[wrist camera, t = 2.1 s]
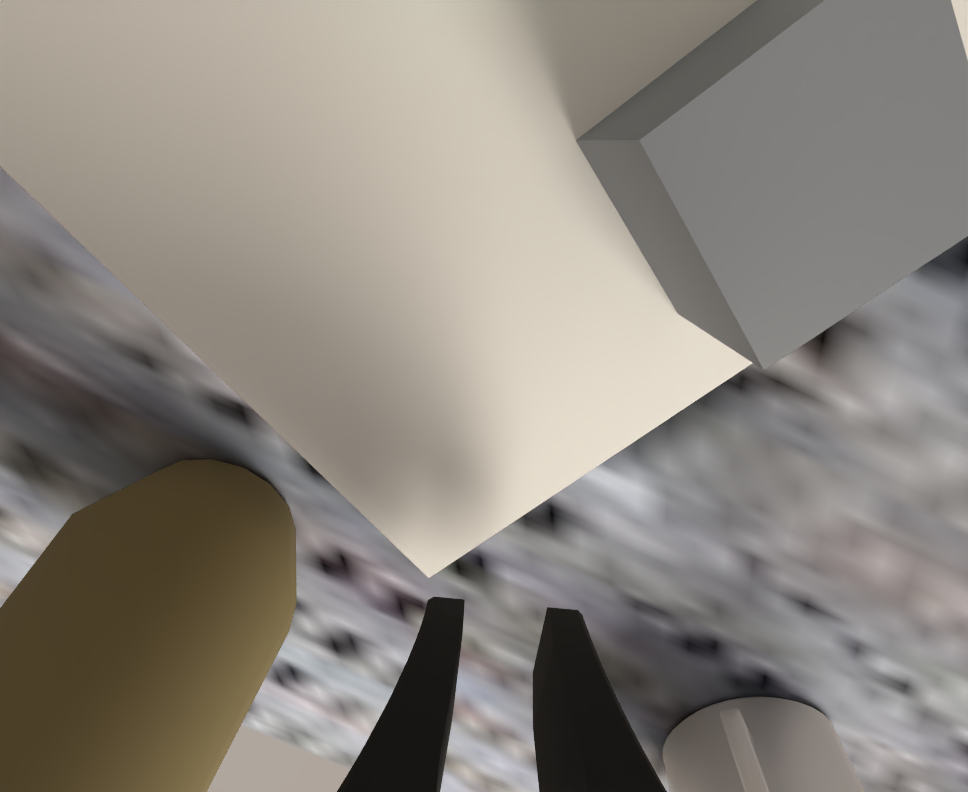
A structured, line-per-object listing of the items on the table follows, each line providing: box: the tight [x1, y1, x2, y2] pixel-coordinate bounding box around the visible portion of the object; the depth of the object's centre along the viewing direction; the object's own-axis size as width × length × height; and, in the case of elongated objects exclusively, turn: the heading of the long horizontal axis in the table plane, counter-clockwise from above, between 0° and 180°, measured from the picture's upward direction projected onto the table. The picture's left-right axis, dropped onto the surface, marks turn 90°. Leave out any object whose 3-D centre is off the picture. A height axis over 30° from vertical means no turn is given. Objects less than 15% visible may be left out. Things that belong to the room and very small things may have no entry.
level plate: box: [0, 0, 968, 578], centre depth 9 cm, size 13×20×4 cm, turn 126°
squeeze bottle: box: [0, 459, 296, 792], centre depth 15 cm, size 8×8×18 cm
